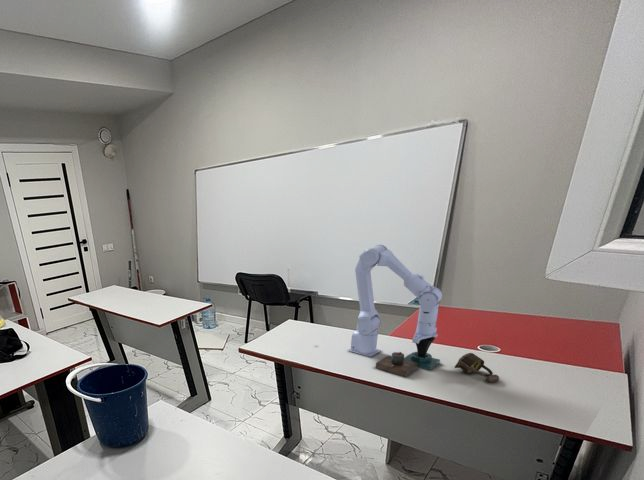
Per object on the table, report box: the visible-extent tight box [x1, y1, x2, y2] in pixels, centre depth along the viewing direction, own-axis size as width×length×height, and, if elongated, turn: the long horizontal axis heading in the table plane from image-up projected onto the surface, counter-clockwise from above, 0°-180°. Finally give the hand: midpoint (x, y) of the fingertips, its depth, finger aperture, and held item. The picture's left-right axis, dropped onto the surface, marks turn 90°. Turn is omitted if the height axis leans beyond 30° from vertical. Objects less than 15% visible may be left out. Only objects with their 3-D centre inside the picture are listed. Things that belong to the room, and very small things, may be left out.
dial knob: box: [391, 351, 405, 365], centre depth 135 cm, size 4×4×4 cm
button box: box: [404, 351, 441, 371], centre depth 138 cm, size 10×8×4 cm
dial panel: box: [375, 354, 419, 378], centre depth 136 cm, size 11×9×3 cm
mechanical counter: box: [454, 352, 500, 383], centre depth 125 cm, size 7×13×10 cm
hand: (421, 354), depth 137 cm, fingers closed, pressing on start button
